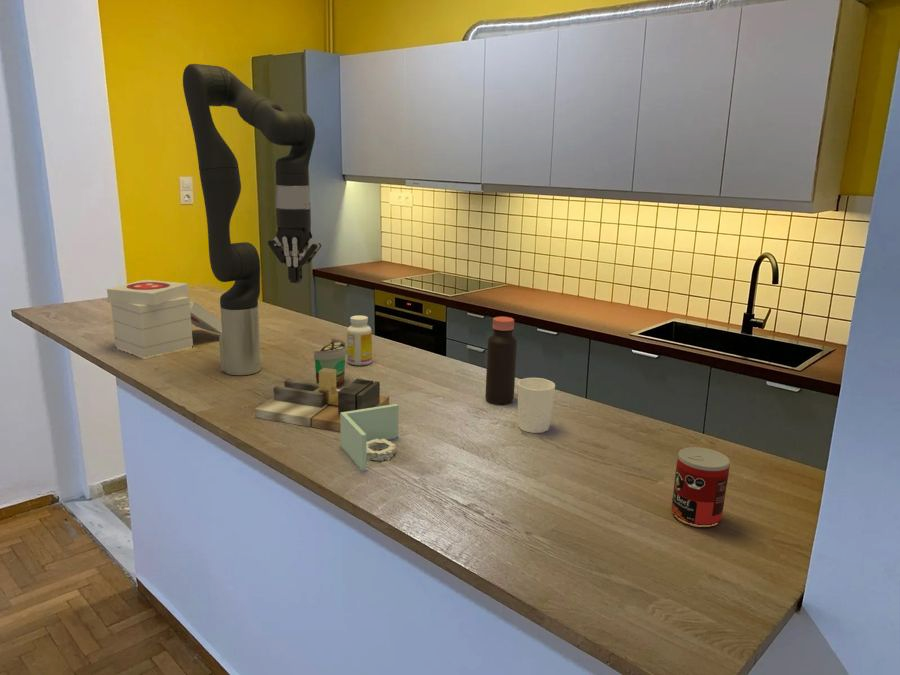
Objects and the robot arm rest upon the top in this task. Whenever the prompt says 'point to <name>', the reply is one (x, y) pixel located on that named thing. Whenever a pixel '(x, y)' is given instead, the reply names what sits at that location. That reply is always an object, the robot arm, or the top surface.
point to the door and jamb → (319, 403)
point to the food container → (332, 360)
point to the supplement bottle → (359, 341)
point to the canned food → (700, 485)
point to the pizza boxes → (156, 317)
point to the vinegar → (501, 362)
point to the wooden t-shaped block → (328, 385)
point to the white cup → (535, 404)
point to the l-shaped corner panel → (369, 433)
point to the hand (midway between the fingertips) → (295, 282)
